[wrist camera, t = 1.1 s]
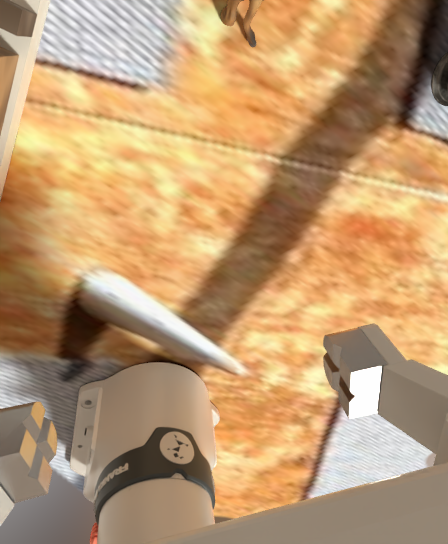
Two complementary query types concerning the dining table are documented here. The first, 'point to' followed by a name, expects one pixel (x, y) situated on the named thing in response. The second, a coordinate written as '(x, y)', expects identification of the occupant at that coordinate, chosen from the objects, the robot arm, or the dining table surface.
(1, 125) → the tan square block
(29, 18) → the dark brown bars
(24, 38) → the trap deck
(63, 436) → the dining table surface
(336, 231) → the dining table surface
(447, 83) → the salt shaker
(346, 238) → the dining table surface
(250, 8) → the lion figurine
